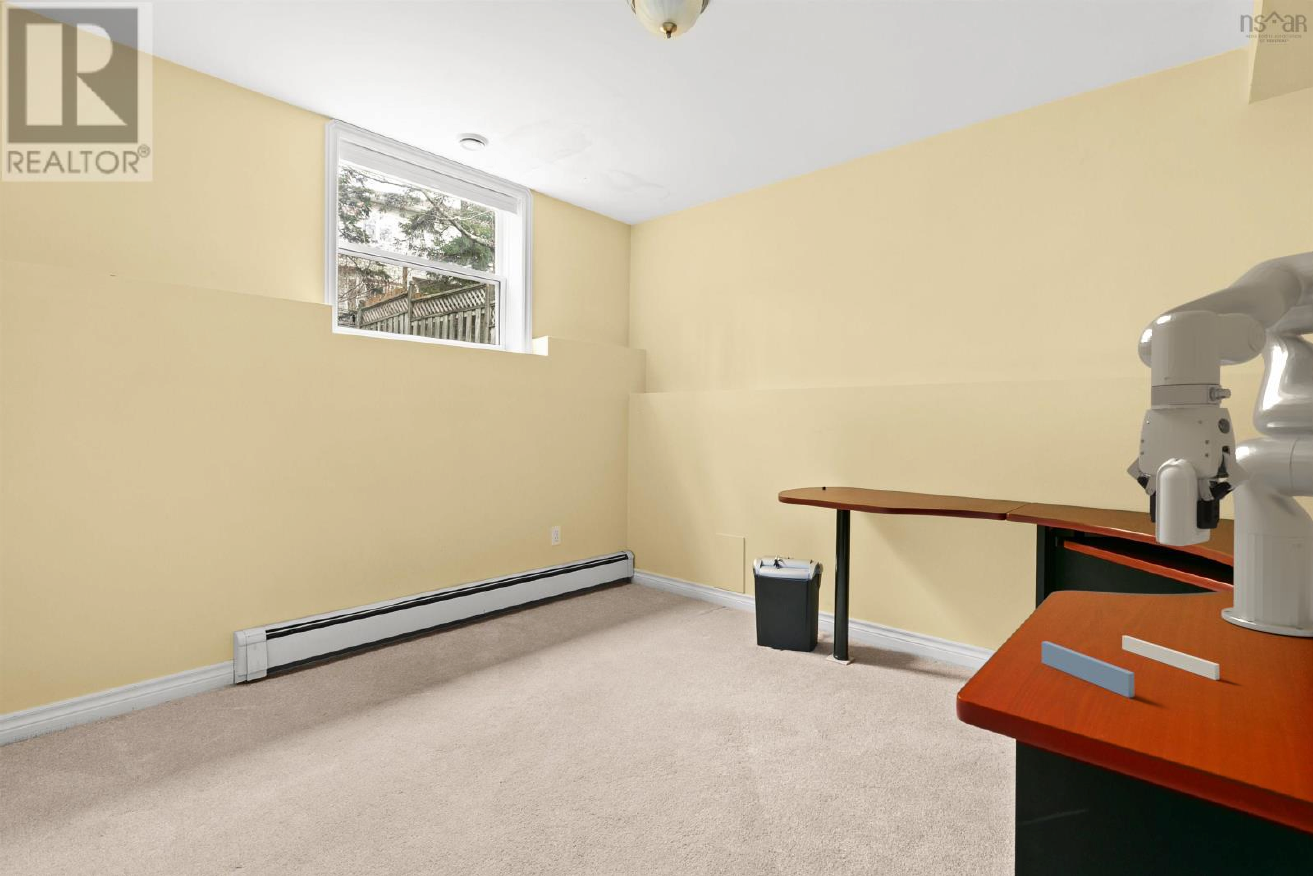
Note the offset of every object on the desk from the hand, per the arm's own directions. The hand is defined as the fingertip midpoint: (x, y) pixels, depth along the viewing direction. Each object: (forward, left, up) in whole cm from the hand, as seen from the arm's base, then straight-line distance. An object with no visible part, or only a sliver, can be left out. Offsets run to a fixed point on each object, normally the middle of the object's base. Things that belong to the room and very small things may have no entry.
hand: (1183, 524), depth 87 cm
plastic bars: (+11, 0, -20) cm, 23 cm away
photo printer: (0, 0, -3) cm, 3 cm away
